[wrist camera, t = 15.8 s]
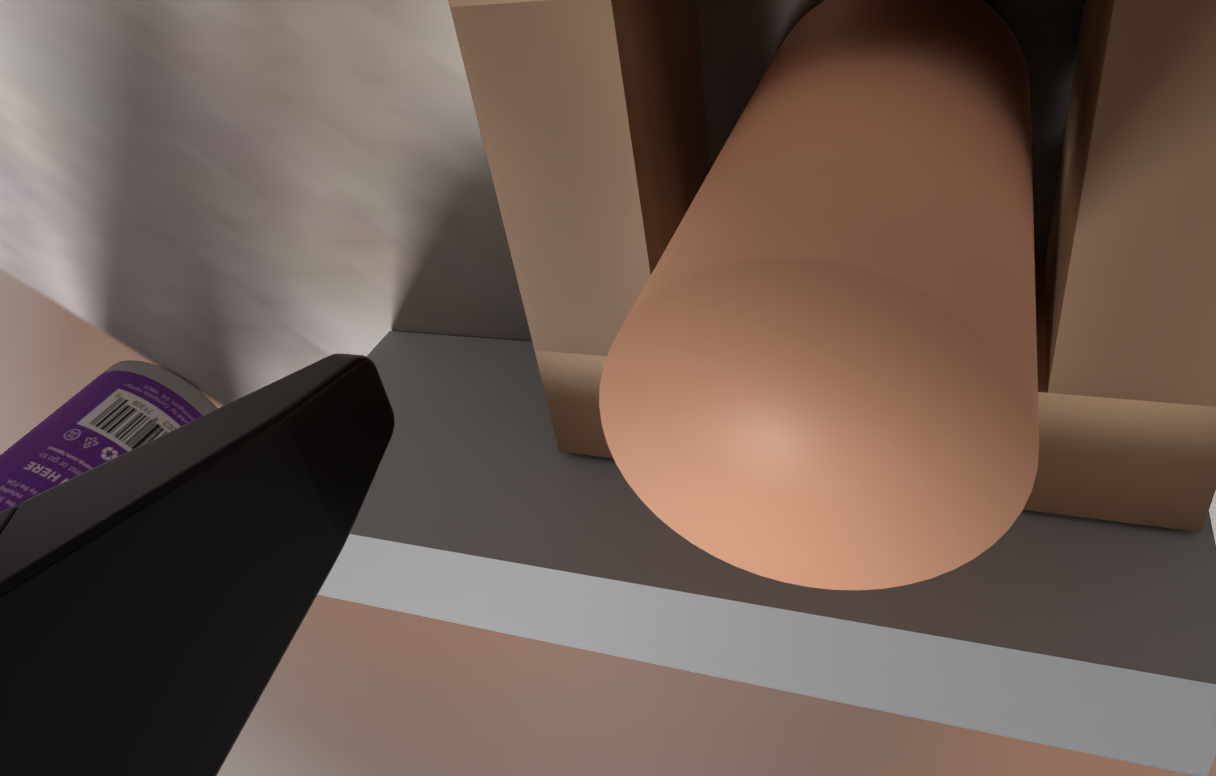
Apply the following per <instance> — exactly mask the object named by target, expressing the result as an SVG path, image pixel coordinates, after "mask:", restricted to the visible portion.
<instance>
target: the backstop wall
mask: <svg viewBox="0 0 1216 776" xmlns="http://www.w3.org/2000/svg"><path fill="white" fill-rule="evenodd" d="M367 357H368V358H370V359H371V360H372V361H373V363H374V364H375V365H376V367H377V370H378V372H379V375H380V378H381V380H382V383H383V385H384V388H385V391H386V393H387V396H388V399H389V401H390V404H391V406H392V409H393V412H394V418H395V424H394V431H393V434H392V437H391V440H390V442H389V444H388V447H387V449H386V451H385V453H384V456H383V458H382V460H381V463H380V465H379V467H378V470H377V472H376V474H375V477H374V479H373V481H372V484H371V486H370V488H369V491H368V493H367V495H366V498H365V500H364V502H363V504H362V507H361V509H360V511H359V514H358V516H357V518H356V521H355V523H354V525H353V528H352V530H351V532H350V534H349V536H348V538H347V541H346V543H345V545H344V547H343V549H342V551H341V553H340V555H339V557H338V558H337V560H336V562H335V564H334V566H333V568H332V570H331V571H330V573H329V575H328V577H327V579H326V580H325V582H324V584H323V586H322V588H321V589H320V591H319V593H318V595H323V596H327V597H332V598H337V599H342V600H347V601H352V602H357V603H361V604H366V605H371V606H376V607H381V608H385V609H390V610H395V611H400V612H405V613H410V614H415V615H419V616H424V617H429V618H434V619H439V620H444V621H449V622H453V623H459V624H463V625H469V626H473V627H478V628H482V629H488V630H492V631H497V632H502V633H507V634H512V635H516V636H521V637H526V638H531V639H536V640H541V641H546V642H550V643H555V644H560V645H565V646H570V647H575V648H580V649H584V650H589V651H594V652H599V653H604V654H609V655H614V656H619V657H623V658H628V659H633V660H638V661H643V662H648V663H653V664H657V665H662V666H668V667H672V668H677V669H682V670H686V671H691V672H696V673H701V674H706V675H711V676H716V677H721V678H726V679H730V680H735V681H740V682H745V683H749V684H755V685H759V686H764V687H769V688H774V689H779V690H784V691H788V692H793V693H799V694H803V695H808V696H813V697H817V698H822V699H827V700H832V701H837V702H842V703H847V704H851V705H856V706H861V707H866V708H871V709H876V710H881V711H885V712H891V713H895V714H900V715H905V716H910V717H915V718H920V719H924V720H929V721H934V722H939V723H944V724H948V725H953V726H958V727H963V728H968V729H973V730H978V731H983V732H987V733H992V734H997V735H1002V736H1007V737H1012V738H1016V739H1021V740H1026V741H1031V742H1037V743H1041V744H1046V745H1050V746H1055V747H1060V748H1065V749H1070V750H1075V751H1080V752H1085V753H1089V754H1094V755H1099V756H1104V757H1109V758H1114V759H1118V760H1124V761H1128V762H1133V763H1138V764H1143V765H1148V766H1153V767H1158V768H1162V769H1167V770H1172V771H1177V772H1181V773H1186V774H1191V775H1197V776H1207V775H1208V772H1209V770H1210V768H1211V766H1212V763H1213V761H1214V759H1215V756H1216V545H1215V540H1214V535H1213V530H1212V525H1211V520H1210V515H1209V510H1208V513H1207V516H1206V519H1205V522H1204V525H1203V528H1202V531H1201V532H1196V531H1188V530H1180V529H1172V528H1164V527H1156V526H1148V525H1140V524H1132V523H1124V522H1116V521H1108V520H1100V519H1092V518H1084V517H1076V516H1068V515H1060V514H1053V513H1045V512H1037V511H1029V510H1022V512H1021V513H1020V515H1019V516H1018V517H1017V519H1016V520H1015V522H1014V523H1013V524H1012V526H1011V527H1010V528H1009V530H1008V531H1007V532H1006V533H1005V534H1004V535H1003V536H1002V537H1001V538H1000V539H998V540H997V541H996V542H995V543H994V544H993V545H992V546H991V547H990V548H988V549H987V550H985V551H984V552H983V553H981V554H980V555H979V556H977V557H976V558H974V559H973V560H971V561H969V562H967V563H965V564H963V565H962V566H960V567H958V568H956V569H954V570H952V571H949V572H947V573H944V574H942V575H939V576H936V577H934V578H931V579H928V580H924V581H920V582H916V583H913V584H909V585H904V586H898V587H891V588H885V589H873V590H830V589H821V588H812V587H805V586H800V585H795V584H790V583H785V582H781V581H777V580H774V579H770V578H767V577H763V576H760V575H757V574H754V573H752V572H749V571H746V570H744V569H741V568H738V567H736V566H733V565H731V564H729V563H727V562H725V561H723V560H721V559H719V558H716V557H714V556H713V555H711V554H709V553H707V552H706V551H704V550H702V549H700V548H699V547H697V546H695V545H694V544H692V543H691V542H689V541H688V540H686V539H685V538H683V537H682V536H681V535H679V534H678V533H676V532H675V531H674V530H672V529H671V528H670V527H669V526H668V525H667V524H665V523H664V522H663V521H662V520H661V519H659V518H658V517H657V516H656V515H655V514H654V513H653V512H652V511H651V510H650V509H649V508H648V507H647V506H646V505H645V504H644V503H643V501H642V500H641V499H640V498H639V497H638V496H637V494H636V493H635V492H634V490H633V489H632V488H631V487H630V485H629V484H628V483H627V481H626V479H625V478H624V476H623V475H622V473H621V471H620V470H619V468H618V466H617V465H616V463H615V460H614V458H607V457H599V456H591V455H583V454H575V453H567V452H559V448H558V444H557V440H556V436H555V432H554V428H553V424H552V420H551V416H550V412H549V408H548V403H547V399H546V395H545V391H544V387H543V383H542V379H541V375H540V371H539V367H538V363H537V359H536V355H535V351H534V347H533V342H530V341H517V340H503V339H490V338H477V337H463V336H450V335H437V334H423V333H410V332H397V331H389V333H388V334H387V335H386V336H385V337H384V338H383V339H382V340H381V341H380V342H379V344H378V345H377V346H376V347H375V348H374V349H373V350H372V351H371V352H370V353H369V355H368V356H367Z"/></svg>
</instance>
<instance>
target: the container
mask: <svg viewBox="0 0 1216 776" xmlns="http://www.w3.org/2000/svg"><path fill="white" fill-rule="evenodd" d="M217 409H218V408H217V407H216V406H215V405H214V404H213V403H212V402H211V401H210V400H209V399H208V398H207V397H206V396H205V395H204V394H203V393H201V392H200V391H199V390H198V389H196V388H195V387H194V386H193V385H191V384H190V383H188V382H187V381H186V380H184V379H182V378H181V377H179V376H177V375H175V374H174V373H172V372H170V371H168V370H166V369H164V368H161V367H159V366H156V365H153V364H150V363H146V362H141V361H122V362H119V363H116V364H115V365H113V366H112V367H110V368H109V369H108V370H106V371H105V372H104V373H103V374H101V375H100V376H98V377H97V378H96V379H95V380H93V381H92V382H91V383H90V384H89V385H87V386H86V387H85V388H83V389H82V390H81V391H80V392H79V393H77V394H76V395H75V396H74V397H72V398H71V399H70V400H69V401H67V402H66V403H65V404H64V405H62V406H61V407H60V408H59V409H57V410H56V411H55V412H54V413H52V414H51V415H50V416H49V417H48V418H46V419H45V420H44V421H42V422H41V423H40V424H39V425H37V426H36V427H35V428H34V429H33V430H31V431H30V432H29V433H27V434H26V435H25V436H24V437H23V438H21V439H20V440H19V441H18V442H16V443H15V444H14V445H13V446H11V447H10V448H9V449H8V450H6V451H5V452H4V453H3V454H1V455H0V512H2V511H4V510H6V509H8V508H11V507H13V506H18V507H19V506H20V505H21V503H22V502H24V501H26V500H28V499H30V498H32V497H34V496H36V495H38V494H40V493H42V492H45V491H47V490H49V489H51V488H53V487H55V486H57V485H59V484H61V483H63V482H66V481H68V480H70V479H72V478H74V477H76V476H78V475H80V474H82V473H84V472H87V471H89V470H91V469H93V468H95V467H97V466H99V465H101V464H103V463H105V462H108V461H110V460H112V459H114V458H116V457H118V456H120V455H122V454H124V453H126V452H129V451H131V450H133V449H135V448H137V447H139V446H141V445H143V444H145V443H147V442H150V441H152V440H154V439H156V438H158V437H160V436H162V435H164V434H166V433H168V432H171V431H173V430H175V429H177V428H179V427H181V426H183V425H185V424H187V423H189V422H192V421H194V420H196V419H198V418H200V417H202V416H204V415H206V414H208V413H210V412H212V411H215V410H217Z"/></svg>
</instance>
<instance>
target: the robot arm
mask: <svg viewBox="0 0 1216 776" xmlns="http://www.w3.org/2000/svg"><path fill="white" fill-rule="evenodd" d="M394 424H395V418H394V412H393V409H392V406H391V404H390V401H389V399H388V396H387V393H386V391H385V388H384V385H383V383H382V380H381V378H380V375H379V372H378V370H377V367H376V365H375V364H374V363H373V361H372V360H371V359H370V358H368V357H366V356H363V355H351V354H333V355H330V356H328V357H326V358H324V359H322V360H320V361H317V362H315V363H313V364H311V365H309V366H307V367H305V368H303V369H301V370H299V371H296V372H294V373H292V374H290V375H288V376H286V377H284V378H282V379H280V380H278V381H275V382H273V383H271V384H269V385H267V386H265V387H263V388H261V389H259V390H257V391H254V392H252V393H250V394H248V395H246V396H244V397H242V398H240V399H238V400H236V401H233V402H231V403H229V404H227V405H225V406H223V407H221V408H219V409H217V410H215V411H212V412H210V413H208V414H206V415H204V416H202V417H200V418H198V419H196V420H194V421H192V422H189V423H187V424H185V425H183V426H181V427H179V428H177V429H175V430H173V431H171V432H168V433H166V434H164V435H162V436H160V437H158V438H156V439H154V440H152V441H150V442H147V443H145V444H143V445H141V446H139V447H137V448H135V449H133V450H131V451H129V452H126V453H124V454H122V455H120V456H118V457H116V458H114V459H112V460H110V461H108V462H105V463H103V464H101V465H99V466H97V467H95V468H93V469H91V470H89V471H87V472H84V473H82V474H80V475H78V476H76V477H74V478H72V479H70V480H68V481H66V482H63V483H61V484H59V485H57V486H55V487H53V488H51V489H49V490H47V491H45V492H42V493H40V494H38V495H36V496H34V497H32V498H30V499H28V500H26V501H24V502H22V503H21V505H20V506H19V507H18V506H13V507H11V508H8V509H6V510H4V511H2V512H0V776H217V774H218V772H219V770H220V769H221V767H222V765H223V763H224V761H225V760H226V758H227V756H228V754H229V752H230V751H231V749H232V747H233V745H234V744H235V742H236V740H237V738H238V736H239V734H240V733H241V731H242V729H243V727H244V726H245V724H246V722H247V720H248V718H249V717H250V715H251V713H252V711H253V709H254V708H255V706H256V704H257V702H258V701H259V699H260V697H261V695H262V693H263V691H264V690H265V688H266V686H267V684H268V682H269V680H270V679H271V677H272V675H273V674H274V672H275V670H276V668H277V666H278V664H279V663H280V661H281V659H282V657H283V655H284V654H285V652H286V650H287V648H288V647H289V645H290V643H291V641H292V640H293V638H294V636H295V634H296V632H297V630H298V629H299V627H300V625H301V623H302V622H303V620H304V618H305V616H306V614H307V612H308V611H309V609H310V607H311V605H312V604H313V602H314V600H315V598H316V596H317V595H318V593H319V591H320V589H321V588H322V586H323V584H324V582H325V580H326V579H327V577H328V575H329V573H330V571H331V570H332V568H333V566H334V564H335V562H336V560H337V558H338V557H339V555H340V553H341V551H342V549H343V547H344V545H345V543H346V541H347V538H348V536H349V534H350V532H351V530H352V528H353V525H354V523H355V521H356V518H357V516H358V514H359V511H360V509H361V507H362V504H363V502H364V500H365V498H366V495H367V493H368V491H369V488H370V486H371V484H372V481H373V479H374V477H375V474H376V472H377V470H378V467H379V465H380V463H381V460H382V458H383V456H384V453H385V451H386V449H387V447H388V444H389V442H390V440H391V437H392V434H393V431H394Z"/></svg>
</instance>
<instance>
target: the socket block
mask: <svg viewBox="0 0 1216 776" xmlns="http://www.w3.org/2000/svg"><path fill="white" fill-rule="evenodd" d="M448 1H449V5H450V9H451V13H452V17H453V21H454V25H455V29H456V33H457V37H458V41H459V45H460V49H461V54H462V58H463V62H464V66H465V70H466V74H467V78H468V82H469V86H470V90H471V94H472V98H473V102H474V106H475V111H476V115H477V119H478V123H479V127H480V131H481V135H482V139H483V143H484V147H485V151H486V155H487V159H488V163H489V167H490V172H491V176H492V180H493V184H494V188H495V192H496V196H497V200H498V204H499V208H500V212H501V216H502V220H503V224H504V229H505V233H506V237H507V241H508V245H509V249H510V253H511V257H512V261H513V265H514V269H515V273H516V277H517V281H518V285H519V290H520V294H521V298H522V302H523V306H524V310H525V314H526V318H527V322H528V326H529V330H530V334H531V338H532V342H533V347H534V351H535V355H536V359H537V363H538V367H539V371H540V375H541V379H542V383H543V387H544V391H545V395H546V399H547V403H548V408H549V412H550V416H551V420H552V424H553V428H554V432H555V436H556V440H557V444H558V448H559V452H567V453H575V454H583V455H591V456H599V457H607V458H613V456H612V454H611V451H610V449H609V447H608V445H607V441H606V438H605V434H604V431H603V427H602V423H601V415H600V408H599V392H600V381H601V376H602V371H603V366H604V363H605V360H606V358H607V355H608V352H609V350H610V347H611V345H612V343H613V342H614V340H615V338H616V336H617V334H618V333H619V331H620V329H621V327H622V326H623V324H624V322H625V320H626V318H627V317H628V315H629V313H630V311H631V310H632V308H633V306H634V304H635V303H636V301H637V299H638V297H639V295H640V294H641V292H642V290H643V288H644V287H645V285H646V283H647V281H648V279H649V278H650V276H651V274H652V272H653V271H654V269H655V267H656V265H657V264H658V262H659V260H660V258H661V256H662V255H663V253H664V251H665V249H666V248H667V246H668V244H669V242H670V240H671V239H672V237H673V235H674V233H675V232H676V230H677V228H678V226H679V225H680V223H681V221H682V219H683V217H684V216H685V214H686V212H687V210H688V209H689V207H690V205H691V203H692V201H693V200H694V198H695V196H696V194H697V193H698V191H699V189H700V187H701V186H702V184H703V182H704V180H705V178H706V177H707V175H708V173H709V171H710V170H711V167H710V156H709V145H708V134H707V123H706V113H705V102H704V91H703V80H702V69H701V58H700V47H699V36H698V25H697V14H696V3H695V0H448ZM1035 298H1036V338H1037V379H1038V419H1039V456H1038V469H1037V473H1036V477H1035V481H1034V484H1033V488H1032V491H1031V494H1030V496H1029V498H1028V500H1027V502H1026V504H1025V506H1024V508H1023V510H1029V511H1037V512H1045V513H1053V514H1060V515H1068V516H1076V517H1084V518H1092V519H1100V520H1108V521H1116V522H1124V523H1132V524H1140V525H1148V526H1156V527H1164V528H1172V529H1180V530H1188V531H1196V532H1201V531H1202V528H1203V525H1204V522H1205V519H1206V516H1207V513H1208V510H1209V508H1210V505H1211V502H1212V499H1213V496H1214V493H1215V490H1216V0H1085V2H1084V9H1083V15H1082V22H1081V28H1080V35H1079V41H1078V48H1077V55H1076V61H1075V68H1074V74H1073V81H1072V87H1071V94H1070V101H1069V107H1068V114H1067V120H1066V127H1065V133H1064V140H1063V147H1062V153H1061V160H1060V166H1059V173H1058V179H1057V186H1056V193H1055V199H1054V206H1053V212H1052V219H1051V225H1050V232H1049V239H1048V245H1047V252H1046V258H1045V262H1035Z"/></svg>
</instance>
